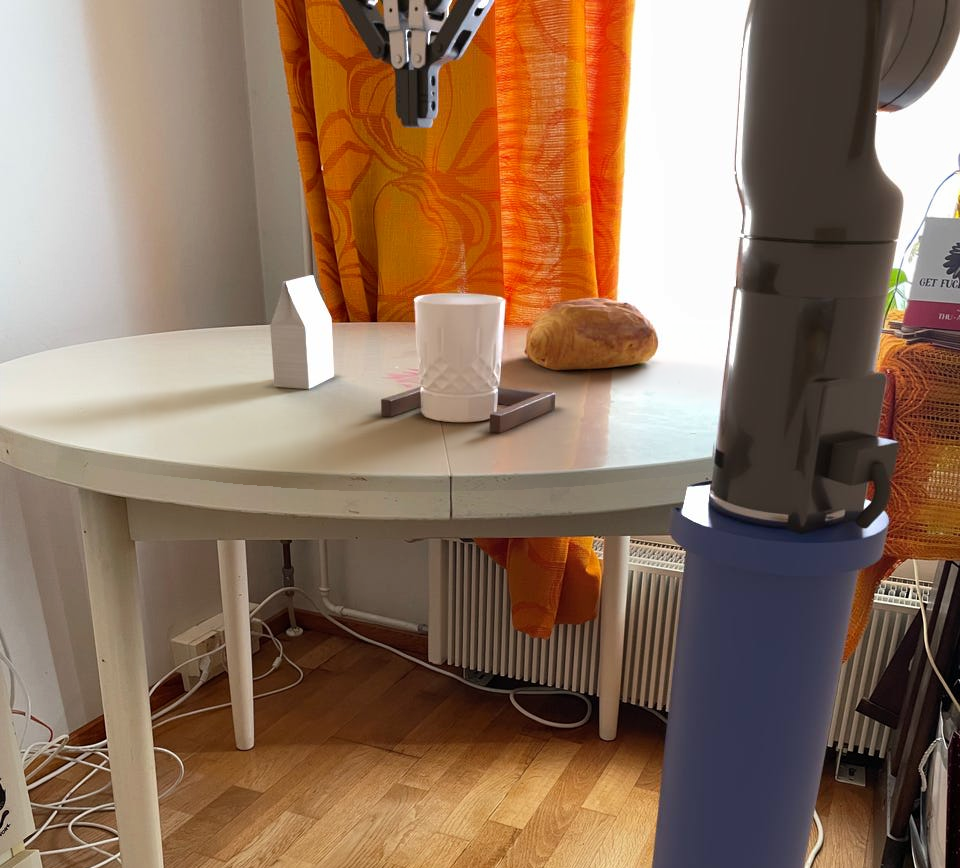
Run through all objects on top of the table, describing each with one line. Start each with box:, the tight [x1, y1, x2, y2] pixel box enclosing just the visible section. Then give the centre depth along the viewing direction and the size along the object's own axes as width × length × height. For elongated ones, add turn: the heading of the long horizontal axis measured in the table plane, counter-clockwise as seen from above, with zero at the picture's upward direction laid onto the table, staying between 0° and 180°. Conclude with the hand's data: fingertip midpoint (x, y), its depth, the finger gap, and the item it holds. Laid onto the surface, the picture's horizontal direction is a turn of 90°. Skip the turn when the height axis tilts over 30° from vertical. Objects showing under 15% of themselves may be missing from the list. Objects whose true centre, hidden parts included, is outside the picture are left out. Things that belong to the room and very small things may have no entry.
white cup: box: [413, 292, 507, 424], centre depth 90 cm, size 8×8×10 cm
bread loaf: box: [523, 297, 659, 371], centre depth 116 cm, size 14×16×8 cm
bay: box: [380, 385, 556, 434], centre depth 93 cm, size 11×12×2 cm
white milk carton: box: [269, 274, 335, 390], centre depth 103 cm, size 4×7×10 cm, turn 166°
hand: (417, 127), depth 77 cm, fingers closed
